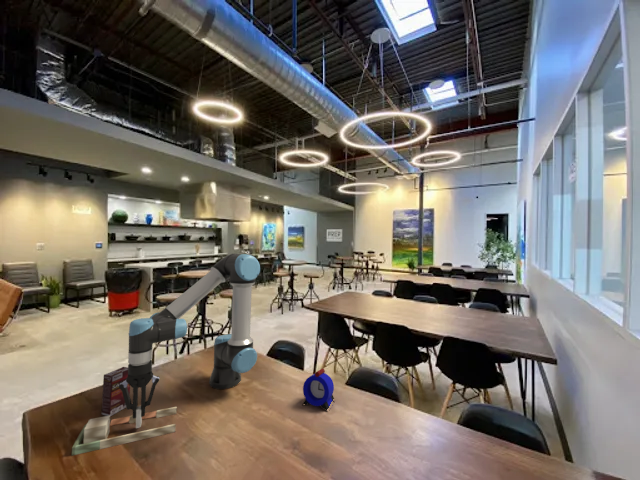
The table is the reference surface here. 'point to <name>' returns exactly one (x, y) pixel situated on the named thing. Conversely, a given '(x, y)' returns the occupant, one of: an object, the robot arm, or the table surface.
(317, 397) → the alarm clock
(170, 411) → the channel
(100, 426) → the cream white block
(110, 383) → the supplement box
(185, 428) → the table surface
